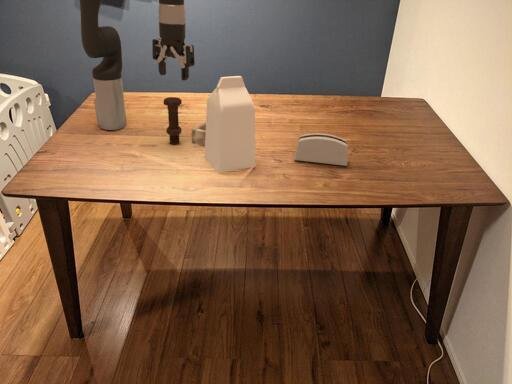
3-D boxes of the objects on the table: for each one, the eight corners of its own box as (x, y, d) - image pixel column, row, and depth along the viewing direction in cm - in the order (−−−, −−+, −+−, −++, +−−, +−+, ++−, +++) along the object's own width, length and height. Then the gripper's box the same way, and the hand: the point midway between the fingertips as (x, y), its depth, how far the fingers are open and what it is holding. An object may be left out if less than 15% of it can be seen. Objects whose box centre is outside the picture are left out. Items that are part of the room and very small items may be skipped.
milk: (218, 172, 118) (219, 83, 105) (204, 157, 126) (203, 73, 114) (255, 166, 123) (260, 80, 110) (239, 152, 131) (242, 71, 119)
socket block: (191, 143, 136) (191, 129, 134) (210, 133, 145) (210, 119, 143) (218, 150, 132) (218, 135, 130) (235, 139, 141) (236, 125, 139)
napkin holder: (346, 162, 129) (351, 134, 123) (346, 170, 125) (352, 141, 120) (294, 156, 131) (297, 128, 125) (293, 163, 127) (296, 135, 121)
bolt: (179, 147, 132) (177, 102, 125) (164, 145, 133) (161, 101, 126) (184, 140, 137) (182, 97, 130) (169, 139, 138) (167, 96, 131)
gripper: (144, 18, 116) (147, 75, 124) (183, 25, 111) (184, 84, 119) (161, 17, 122) (163, 71, 130) (199, 23, 116) (199, 79, 125)
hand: (173, 77), depth 124 cm, fingers open, 8 cm apart
